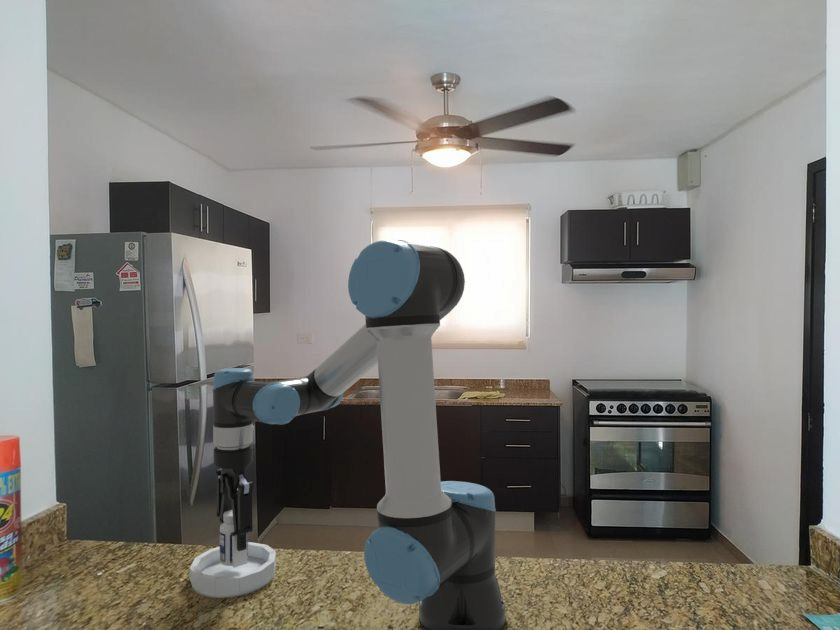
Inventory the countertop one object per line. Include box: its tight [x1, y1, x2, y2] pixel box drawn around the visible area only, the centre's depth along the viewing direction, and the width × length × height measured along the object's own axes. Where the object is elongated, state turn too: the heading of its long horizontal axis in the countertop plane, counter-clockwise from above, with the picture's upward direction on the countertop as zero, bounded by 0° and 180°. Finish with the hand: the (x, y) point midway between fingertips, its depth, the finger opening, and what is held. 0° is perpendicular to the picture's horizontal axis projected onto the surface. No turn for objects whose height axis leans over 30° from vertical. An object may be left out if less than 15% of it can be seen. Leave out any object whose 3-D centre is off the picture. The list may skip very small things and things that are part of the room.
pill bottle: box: [219, 510, 249, 566], centre depth 109 cm, size 5×5×10 cm
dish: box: [189, 541, 277, 599], centre depth 109 cm, size 16×16×4 cm
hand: (233, 559), depth 109 cm, fingers closed on pill bottle, 5 cm apart
